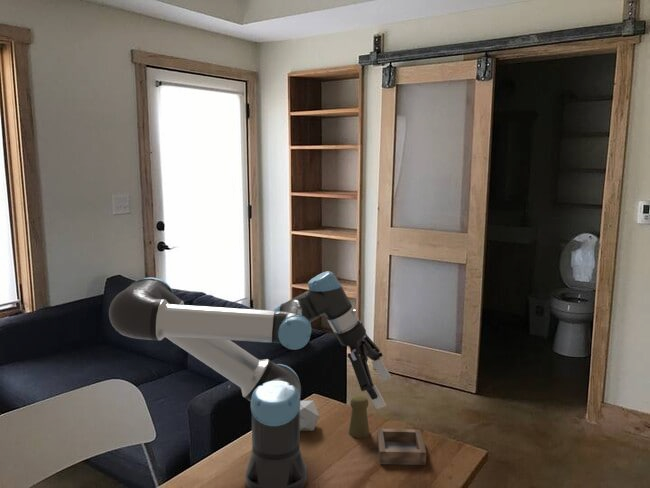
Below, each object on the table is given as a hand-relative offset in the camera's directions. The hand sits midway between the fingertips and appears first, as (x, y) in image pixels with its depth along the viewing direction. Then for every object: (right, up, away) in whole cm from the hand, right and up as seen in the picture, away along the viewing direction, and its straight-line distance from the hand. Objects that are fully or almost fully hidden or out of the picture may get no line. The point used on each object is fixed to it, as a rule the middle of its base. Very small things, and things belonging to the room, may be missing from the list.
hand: (384, 392), depth 145 cm
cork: (-6, -15, +11) cm, 20 cm away
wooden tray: (+5, -16, +1) cm, 17 cm away
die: (-22, -15, +14) cm, 30 cm away
